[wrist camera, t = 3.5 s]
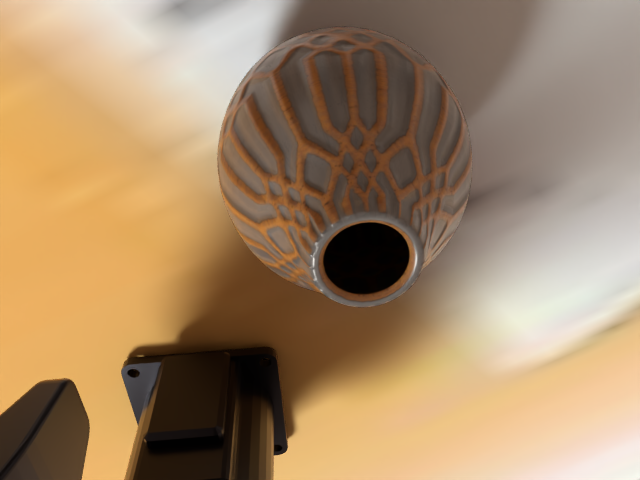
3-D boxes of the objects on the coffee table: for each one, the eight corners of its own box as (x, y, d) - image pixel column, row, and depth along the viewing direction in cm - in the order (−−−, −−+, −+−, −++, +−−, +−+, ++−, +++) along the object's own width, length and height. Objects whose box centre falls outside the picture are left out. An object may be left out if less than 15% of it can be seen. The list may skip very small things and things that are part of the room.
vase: (364, -43, 16) (437, 12, 9) (468, 138, 20) (585, 290, 12) (183, 92, 18) (119, 232, 11) (306, 239, 21) (322, 425, 14)
